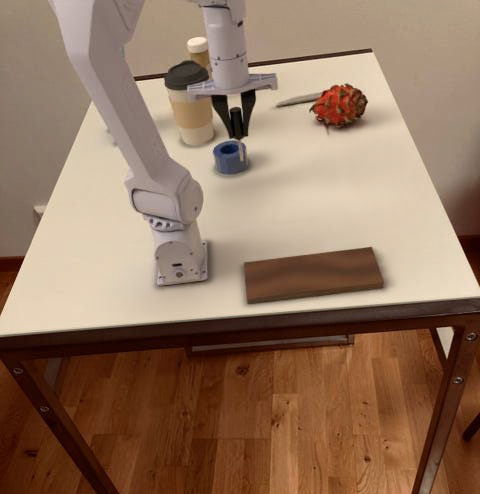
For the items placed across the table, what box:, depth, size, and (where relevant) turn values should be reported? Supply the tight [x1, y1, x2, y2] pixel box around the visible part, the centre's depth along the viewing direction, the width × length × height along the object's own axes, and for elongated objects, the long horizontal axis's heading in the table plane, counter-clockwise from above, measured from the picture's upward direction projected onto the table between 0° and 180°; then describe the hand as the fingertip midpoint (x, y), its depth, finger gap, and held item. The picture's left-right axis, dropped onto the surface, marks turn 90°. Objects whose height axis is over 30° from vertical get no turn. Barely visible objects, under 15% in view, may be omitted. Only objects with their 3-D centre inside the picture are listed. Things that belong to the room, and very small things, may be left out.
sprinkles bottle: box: [186, 36, 213, 103], centre depth 117 cm, size 5×5×14 cm
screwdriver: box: [229, 106, 245, 161], centre depth 88 cm, size 2×2×9 cm
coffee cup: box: [163, 59, 215, 145], centre depth 105 cm, size 9×9×15 cm
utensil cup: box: [212, 139, 249, 175], centre depth 99 cm, size 6×6×4 cm
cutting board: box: [243, 246, 385, 305], centre depth 77 cm, size 8×20×1 cm, turn 93°
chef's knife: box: [275, 87, 356, 107], centre depth 116 cm, size 19×1×3 cm
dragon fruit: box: [308, 82, 369, 129], centre depth 105 cm, size 8×8×12 cm
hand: (238, 135), depth 88 cm, fingers closed on screwdriver, 2 cm apart
